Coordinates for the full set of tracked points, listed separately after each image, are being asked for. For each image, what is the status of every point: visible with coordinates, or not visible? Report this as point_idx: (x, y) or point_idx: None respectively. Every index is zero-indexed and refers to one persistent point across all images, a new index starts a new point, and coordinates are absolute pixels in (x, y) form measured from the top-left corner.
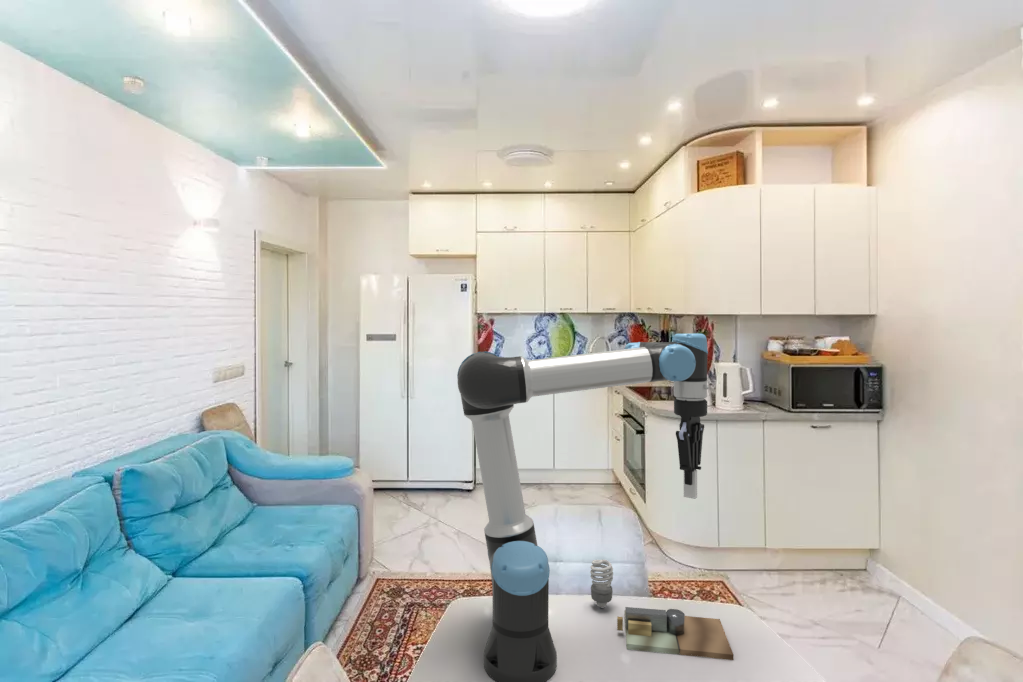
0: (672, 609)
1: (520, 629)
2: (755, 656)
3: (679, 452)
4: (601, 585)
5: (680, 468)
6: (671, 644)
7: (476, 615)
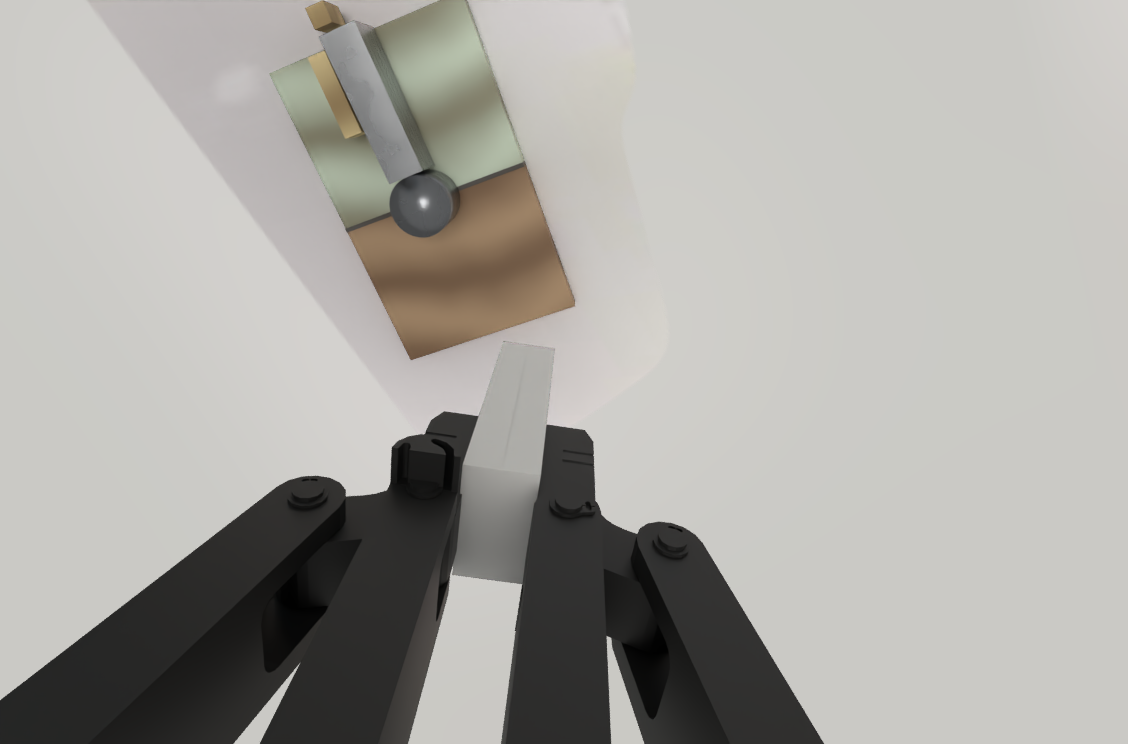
0: (440, 192)
1: None
2: (463, 396)
3: (43, 684)
4: None
5: (289, 484)
6: (355, 204)
7: None
